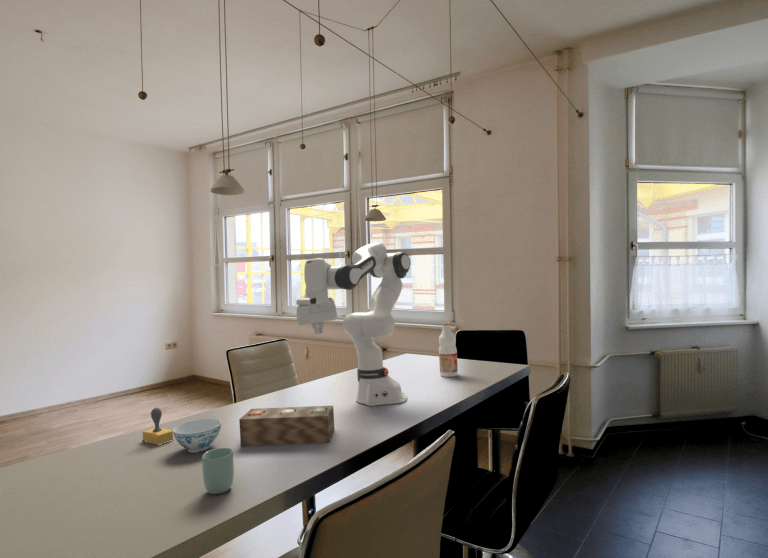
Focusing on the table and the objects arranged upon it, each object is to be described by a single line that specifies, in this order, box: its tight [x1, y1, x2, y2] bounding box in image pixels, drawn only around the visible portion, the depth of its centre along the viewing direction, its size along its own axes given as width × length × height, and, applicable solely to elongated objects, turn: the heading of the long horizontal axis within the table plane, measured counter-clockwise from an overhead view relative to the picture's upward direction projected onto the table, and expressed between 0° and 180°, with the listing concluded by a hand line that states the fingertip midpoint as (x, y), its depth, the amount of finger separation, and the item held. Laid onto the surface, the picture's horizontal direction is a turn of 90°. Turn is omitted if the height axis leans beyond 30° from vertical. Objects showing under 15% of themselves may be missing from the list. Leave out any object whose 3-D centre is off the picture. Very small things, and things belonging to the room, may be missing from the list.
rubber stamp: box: [142, 407, 174, 446], centre depth 162 cm, size 10×6×12 cm, turn 57°
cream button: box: [281, 409, 294, 415], centre depth 158 cm, size 4×4×3 cm
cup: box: [201, 447, 235, 495], centre depth 120 cm, size 8×8×10 cm
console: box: [239, 405, 335, 447], centre depth 158 cm, size 30×12×9 cm, turn 87°
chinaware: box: [172, 418, 222, 453], centre depth 152 cm, size 15×15×8 cm
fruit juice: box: [438, 321, 459, 378], centre depth 241 cm, size 9×9×28 cm
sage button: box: [313, 408, 326, 413], centre depth 157 cm, size 4×4×3 cm
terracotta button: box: [250, 410, 263, 416], centre depth 158 cm, size 4×4×3 cm
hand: (318, 333), depth 179 cm, fingers closed
